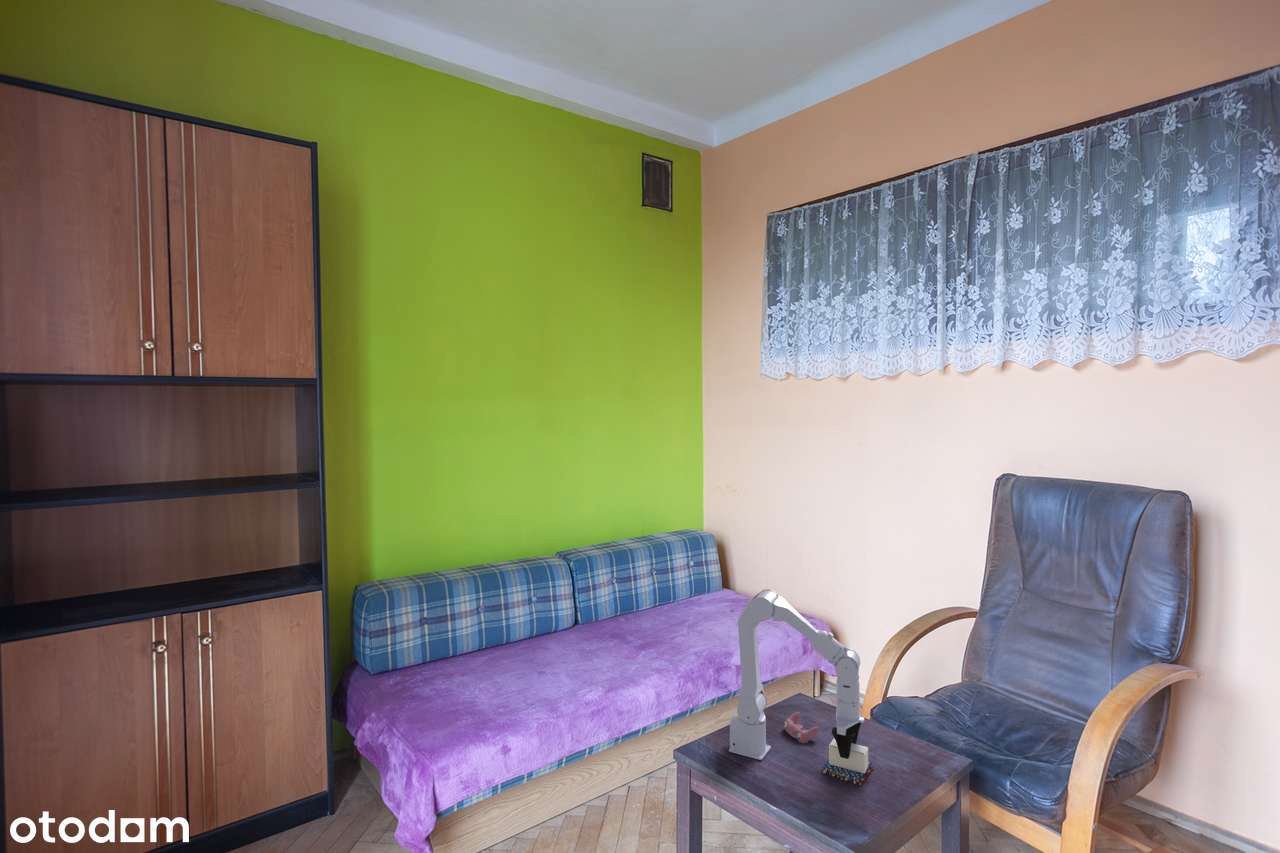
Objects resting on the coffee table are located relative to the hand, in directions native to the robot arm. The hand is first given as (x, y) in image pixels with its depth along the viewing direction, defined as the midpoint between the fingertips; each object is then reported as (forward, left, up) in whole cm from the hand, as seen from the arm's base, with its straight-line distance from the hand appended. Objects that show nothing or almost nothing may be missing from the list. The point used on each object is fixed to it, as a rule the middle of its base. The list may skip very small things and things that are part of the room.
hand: (848, 750), depth 172 cm
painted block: (0, 0, -4) cm, 4 cm away
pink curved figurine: (-14, +15, -3) cm, 21 cm away
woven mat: (0, 0, -6) cm, 6 cm away
